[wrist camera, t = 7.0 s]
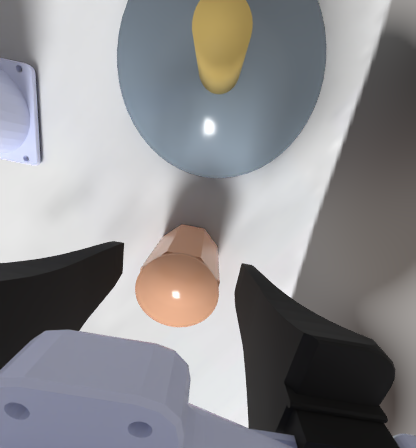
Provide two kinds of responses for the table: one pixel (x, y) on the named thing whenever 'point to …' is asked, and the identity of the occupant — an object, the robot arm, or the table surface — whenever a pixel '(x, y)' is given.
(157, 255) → the tan piece
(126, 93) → the lid
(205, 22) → the capsule
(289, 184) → the table surface
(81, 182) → the table surface
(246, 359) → the robot arm
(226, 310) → the table surface
